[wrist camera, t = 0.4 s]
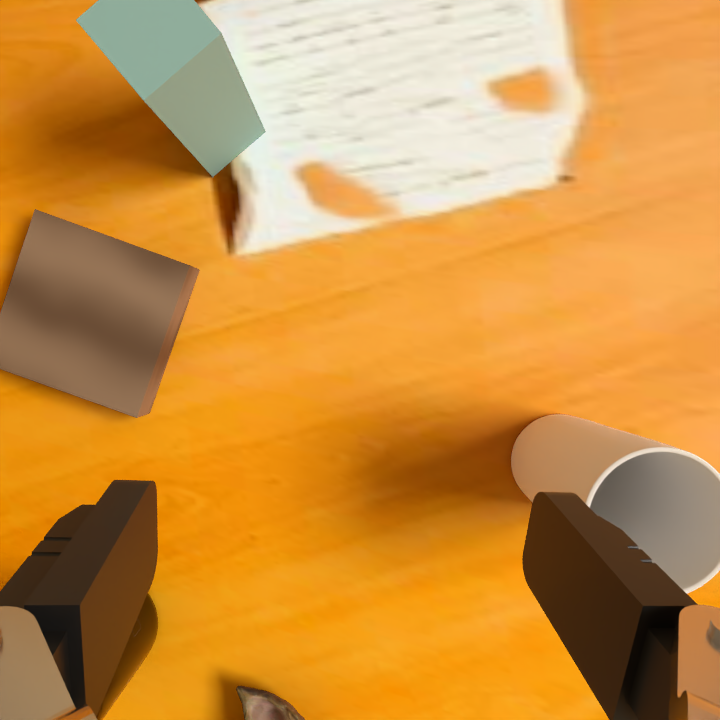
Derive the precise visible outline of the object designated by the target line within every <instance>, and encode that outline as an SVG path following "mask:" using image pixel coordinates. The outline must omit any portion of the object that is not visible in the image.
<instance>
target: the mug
mask: <svg viewBox="0 0 720 720" xmlns="http://www.w3.org/2000/svg"><path fill="white" fill-rule="evenodd" d="M511 468H512V473H513V476H514V479H515V481H516V483H517V485H518V486H519V488H520V489H521V491H522V492H523V493H524V494H525V495H526V496H527V497H528V498H529V499H530V501H531V502H532V503H533V500H534V497H535V495H536V494H537V493H538V492H571V493H575V494H576V495H578V496H579V497H580V498H581V499H582V500H583V502H584V503H585V504H586V505H587V506H588V507H589V508H590V509H591V510H592V511H593V512H594V513H595V514H596V515H597V516H600V517H602V518H603V519H605V520H607V521H608V522H610V523H612V524H613V525H615V526H617V527H618V528H620V529H621V530H623V531H624V532H625V533H626V534H627V535H628V536H629V537H630V538H631V539H632V540H633V541H634V542H635V543H636V544H637V545H638V548H639V549H642V550H643V551H644V552H645V553H646V554H647V555H648V556H649V557H650V558H651V559H652V563H656V564H657V565H658V566H659V567H660V568H661V569H662V570H663V571H664V572H665V573H666V574H667V575H668V576H669V577H670V578H671V579H672V580H673V581H674V582H675V583H676V584H677V585H678V586H679V587H680V588H681V589H682V590H683V591H684V592H685V593H686V594H687V593H689V592H692V591H694V590H696V589H697V588H699V587H701V586H702V585H704V584H705V583H707V582H708V581H709V580H710V579H712V578H713V577H714V576H715V575H716V574H717V573H718V571H719V570H720V474H719V473H718V472H717V471H716V470H715V469H714V468H713V467H712V466H711V465H710V464H709V463H707V462H706V461H705V460H703V459H701V458H700V457H698V456H696V455H694V454H692V453H690V452H687V451H684V450H681V449H678V448H676V447H673V446H670V445H667V444H664V443H661V442H658V441H654V440H651V439H648V438H644V437H641V436H638V435H635V434H631V433H628V432H625V431H621V430H618V429H615V428H611V427H608V426H605V425H602V424H599V423H595V422H592V421H589V420H586V419H582V418H578V417H574V416H570V415H565V414H553V415H547V416H544V417H541V418H539V419H537V420H535V421H533V422H532V423H530V424H529V425H528V426H527V427H525V428H524V430H523V431H522V432H521V433H520V434H519V436H518V438H517V439H516V441H515V444H514V446H513V450H512V455H511Z"/></svg>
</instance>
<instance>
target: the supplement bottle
mask: <svg viewBox="0 0 720 720" xmlns="http://www.w3.org/2000/svg"><path fill="white" fill-rule="evenodd" d="M157 629H158V617H157V612H156V608H155V605H154V603H153V601H152V599H151V597H150V595H149V594H148V593H147V596H146V598H145V601H144V603H143V606H142V608H141V610H140V613H139V615H138V618H137V620H136V622H135V625H134V627H133V630H132V632H131V635H130V637H129V639H128V642H127V644H126V647H125V649H124V652H123V654H122V656H121V659H120V661H119V664H118V666H117V669H116V671H115V673H114V676H113V678H112V681H111V683H110V685H109V688H108V690H107V693H106V695H105V698H104V700H103V702H102V705H101V707H100V710H99V712H98V715H97V717H96V718H97V720H103V718H104V717H105V715H106V714H107V712H108V711H109V710H110V708H111V707H112V705H113V704H114V702H115V701H116V700H117V698H118V697H119V695H120V694H121V692H122V691H123V690H124V688H125V687H126V685H127V684H128V682H129V681H130V680H131V678H132V677H133V675H134V674H135V672H136V671H137V670H138V668H139V667H140V665H141V664H142V662H143V661H144V659H145V658H146V656H147V655H148V653H149V652H150V650H151V648H152V646H153V644H154V642H155V639H156V635H157Z"/></svg>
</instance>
